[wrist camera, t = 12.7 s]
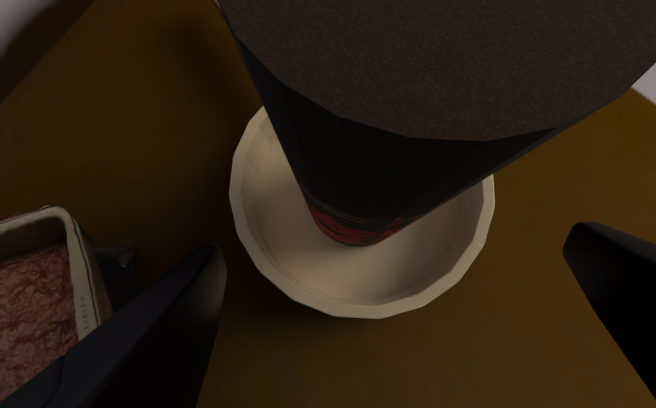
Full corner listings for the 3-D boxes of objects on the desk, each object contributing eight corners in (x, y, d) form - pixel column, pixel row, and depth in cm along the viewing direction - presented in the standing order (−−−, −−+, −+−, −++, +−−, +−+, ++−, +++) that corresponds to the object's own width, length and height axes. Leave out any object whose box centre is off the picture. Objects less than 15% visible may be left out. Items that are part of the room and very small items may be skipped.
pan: (324, 357, 17) (322, 378, 14) (210, 167, 20) (184, 145, 16) (511, 226, 18) (551, 216, 15) (381, 63, 21) (391, 22, 17)
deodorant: (289, 184, 19) (122, -124, 4) (369, 132, 19) (477, -302, 5) (345, 267, 18) (392, 255, 3) (428, 209, 18) (812, -40, 4)
